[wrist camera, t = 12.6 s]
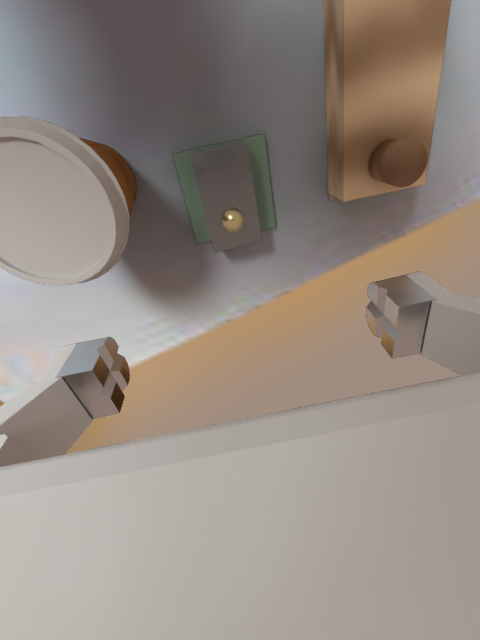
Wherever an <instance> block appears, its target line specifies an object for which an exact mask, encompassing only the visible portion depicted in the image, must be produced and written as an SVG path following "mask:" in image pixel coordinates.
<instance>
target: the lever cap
mask: <svg viewBox="0 0 480 640" xmlns="http://www.w3.org/2000/svg"><path fill="white" fill-rule="evenodd" d="M190 158H191V162H192V166H193V170H194V174H195V178H196V182H197V186H198V190H199V194H200V198H201V202H202V206H203V210H204V214H205V218H206V223H207V227H208V231H209V235H210V239H211V243H212V247H213V251H214V252H218V251H223V250H228V249H232V248H237V247H242V246H246V245H251V244H256V243H260V242H262V237H261V231H260V224H259V218H258V211H257V205H256V198H255V192H254V185H253V179H252V172H251V165H250V159H249V152H248V146H247V142H245V141H239V142H234V143H230V144H225V145H221V146H216V147H212V148H207V149H203V150H199V151H194V152H191V154H190Z"/></svg>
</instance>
